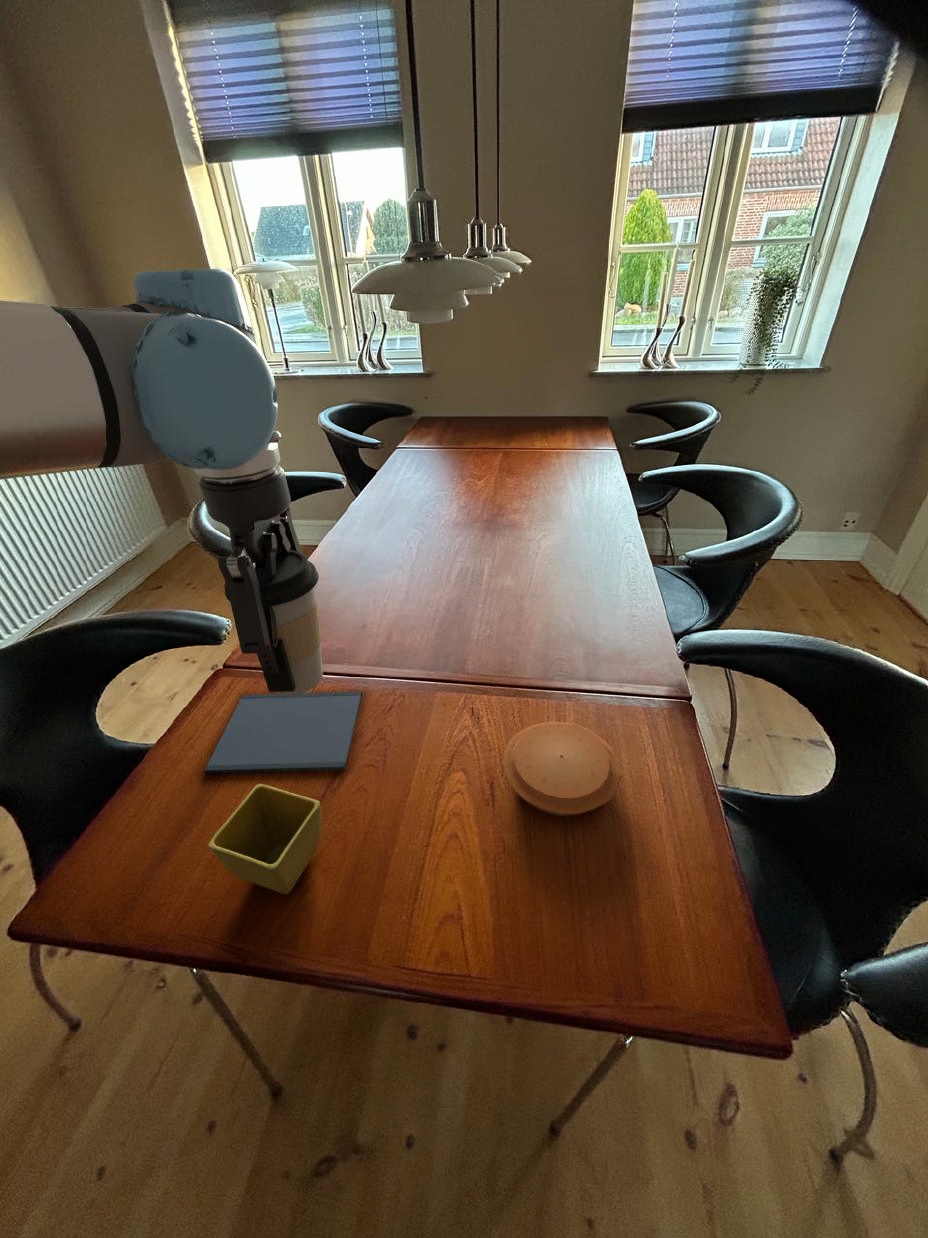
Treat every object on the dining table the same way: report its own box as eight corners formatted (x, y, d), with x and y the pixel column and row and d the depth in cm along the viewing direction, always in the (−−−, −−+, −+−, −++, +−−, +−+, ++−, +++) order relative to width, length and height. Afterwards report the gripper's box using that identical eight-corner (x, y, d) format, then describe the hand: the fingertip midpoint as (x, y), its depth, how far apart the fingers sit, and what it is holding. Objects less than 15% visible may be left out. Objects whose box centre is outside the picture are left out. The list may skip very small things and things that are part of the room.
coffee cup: (239, 696, 60) (198, 582, 52) (288, 648, 68) (259, 541, 59) (310, 713, 58) (279, 596, 49) (353, 661, 65) (332, 551, 56)
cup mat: (205, 773, 76) (204, 770, 75) (243, 697, 89) (242, 694, 89) (344, 769, 75) (344, 766, 75) (362, 693, 89) (361, 691, 88)
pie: (479, 787, 72) (478, 762, 69) (544, 723, 82) (545, 699, 79) (577, 855, 63) (581, 830, 61) (637, 775, 73) (643, 750, 70)
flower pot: (275, 827, 68) (257, 781, 63) (334, 847, 65) (321, 800, 60) (228, 891, 61) (205, 845, 56) (293, 916, 59) (274, 870, 54)
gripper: (239, 514, 40) (301, 729, 52) (310, 437, 57) (344, 612, 70) (141, 517, 40) (227, 731, 53) (241, 439, 57) (287, 613, 70)
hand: (293, 663), depth 61 cm, fingers closed on coffee cup, 8 cm apart
